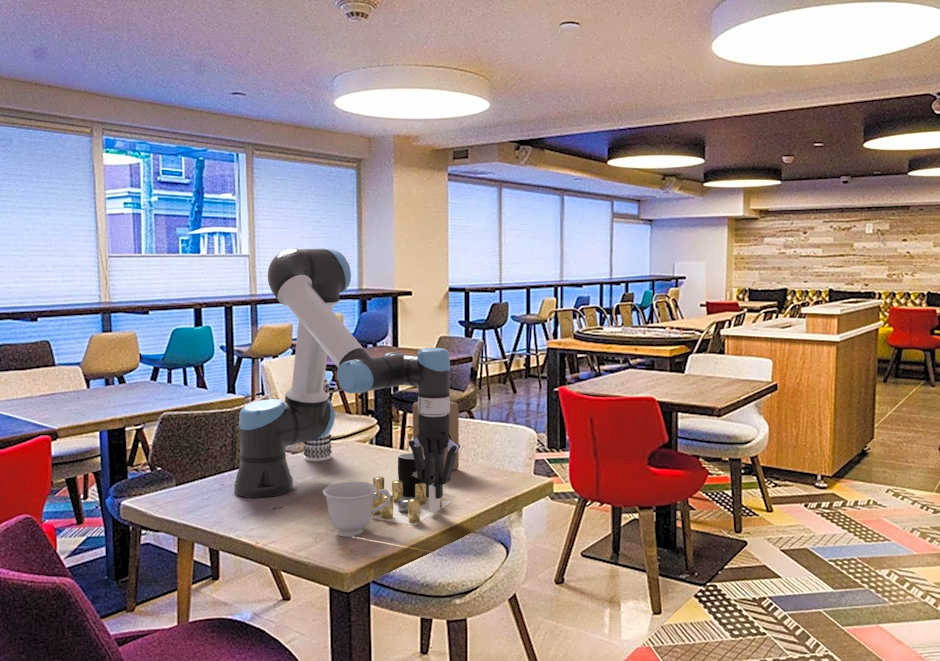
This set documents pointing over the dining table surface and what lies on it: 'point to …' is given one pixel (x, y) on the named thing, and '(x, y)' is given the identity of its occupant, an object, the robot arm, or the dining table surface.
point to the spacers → (396, 495)
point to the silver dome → (403, 505)
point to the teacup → (352, 505)
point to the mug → (408, 473)
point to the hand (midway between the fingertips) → (434, 510)
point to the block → (453, 431)
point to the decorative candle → (319, 441)
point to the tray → (403, 517)
